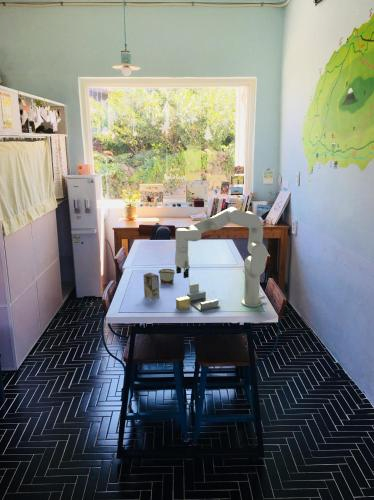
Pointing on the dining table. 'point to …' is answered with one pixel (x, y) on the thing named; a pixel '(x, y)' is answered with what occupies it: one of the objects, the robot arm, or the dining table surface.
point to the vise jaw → (195, 292)
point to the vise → (205, 304)
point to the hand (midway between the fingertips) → (182, 275)
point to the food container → (166, 276)
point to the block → (183, 303)
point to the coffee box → (151, 286)
